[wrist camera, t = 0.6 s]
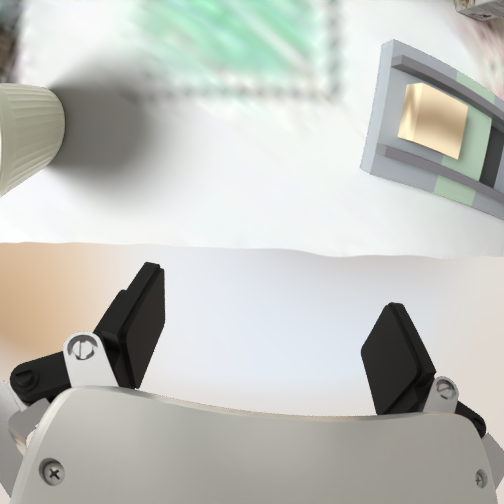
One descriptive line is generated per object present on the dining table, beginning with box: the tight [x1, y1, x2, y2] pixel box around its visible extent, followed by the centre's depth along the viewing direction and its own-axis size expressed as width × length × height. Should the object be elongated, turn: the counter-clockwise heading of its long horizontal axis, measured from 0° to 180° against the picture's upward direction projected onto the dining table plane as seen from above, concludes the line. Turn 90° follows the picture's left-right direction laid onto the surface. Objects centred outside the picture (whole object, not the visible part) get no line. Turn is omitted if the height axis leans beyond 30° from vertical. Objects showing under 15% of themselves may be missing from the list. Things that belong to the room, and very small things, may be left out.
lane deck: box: [360, 39, 504, 220], centre depth 27 cm, size 18×28×7 cm, turn 82°
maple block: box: [398, 83, 468, 160], centre depth 25 cm, size 7×7×4 cm
